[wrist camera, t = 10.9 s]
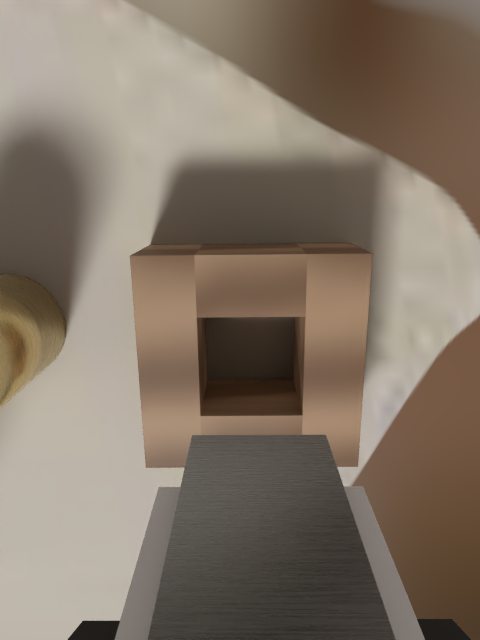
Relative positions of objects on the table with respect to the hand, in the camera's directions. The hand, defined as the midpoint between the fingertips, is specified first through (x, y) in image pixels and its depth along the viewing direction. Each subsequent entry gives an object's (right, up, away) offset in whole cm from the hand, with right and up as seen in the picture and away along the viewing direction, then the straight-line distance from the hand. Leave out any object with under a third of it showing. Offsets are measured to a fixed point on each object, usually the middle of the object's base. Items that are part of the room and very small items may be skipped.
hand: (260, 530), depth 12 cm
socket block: (0, +5, +16) cm, 17 cm away
